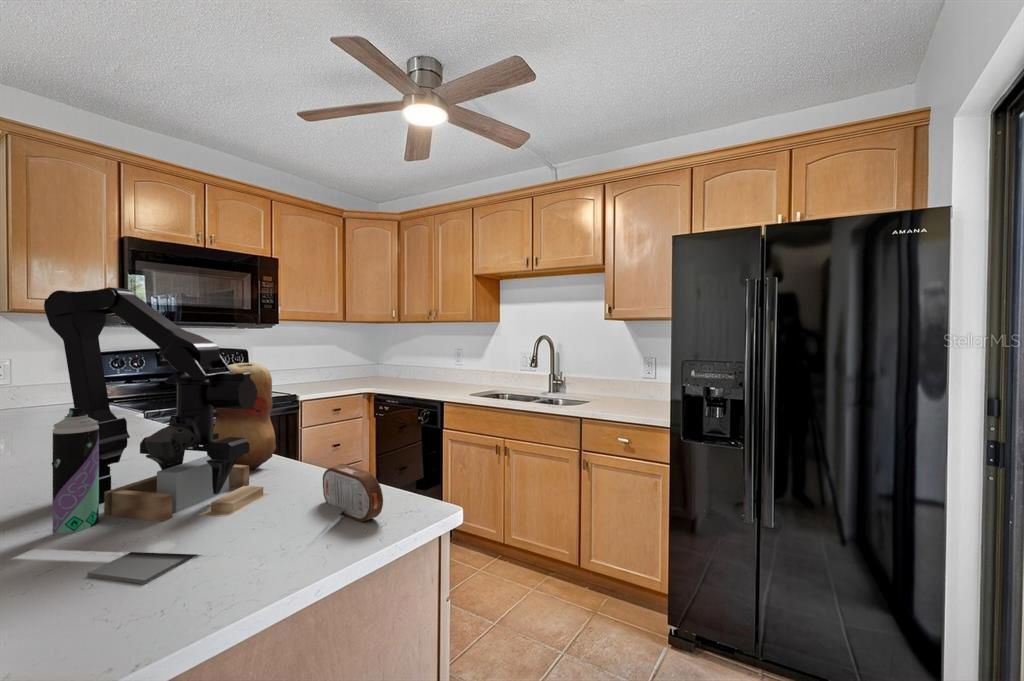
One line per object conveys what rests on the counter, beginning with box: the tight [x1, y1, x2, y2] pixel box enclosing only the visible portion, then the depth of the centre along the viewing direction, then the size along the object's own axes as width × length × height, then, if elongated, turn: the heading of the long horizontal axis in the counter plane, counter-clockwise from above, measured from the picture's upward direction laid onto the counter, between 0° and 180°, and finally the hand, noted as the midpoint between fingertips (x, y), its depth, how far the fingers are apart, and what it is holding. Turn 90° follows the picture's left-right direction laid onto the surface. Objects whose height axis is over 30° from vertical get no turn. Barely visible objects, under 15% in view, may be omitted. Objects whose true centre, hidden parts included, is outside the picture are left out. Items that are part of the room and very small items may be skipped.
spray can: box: [52, 407, 100, 535], centre depth 77 cm, size 6×6×20 cm
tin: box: [322, 463, 384, 523], centre depth 87 cm, size 15×3×8 cm, turn 53°
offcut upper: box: [210, 485, 264, 514], centre depth 88 cm, size 4×9×2 cm, turn 176°
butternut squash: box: [206, 362, 277, 471], centre depth 111 cm, size 14×13×25 cm
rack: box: [103, 465, 250, 523], centre depth 90 cm, size 12×20×5 cm, turn 169°
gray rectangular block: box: [156, 455, 230, 513], centre depth 90 cm, size 4×12×8 cm, turn 169°
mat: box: [86, 551, 198, 585], centre depth 71 cm, size 9×17×1 cm, turn 169°
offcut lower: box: [198, 492, 271, 518], centre depth 88 cm, size 5×12×2 cm, turn 172°
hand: (195, 491), depth 90 cm, fingers open, 9 cm apart
